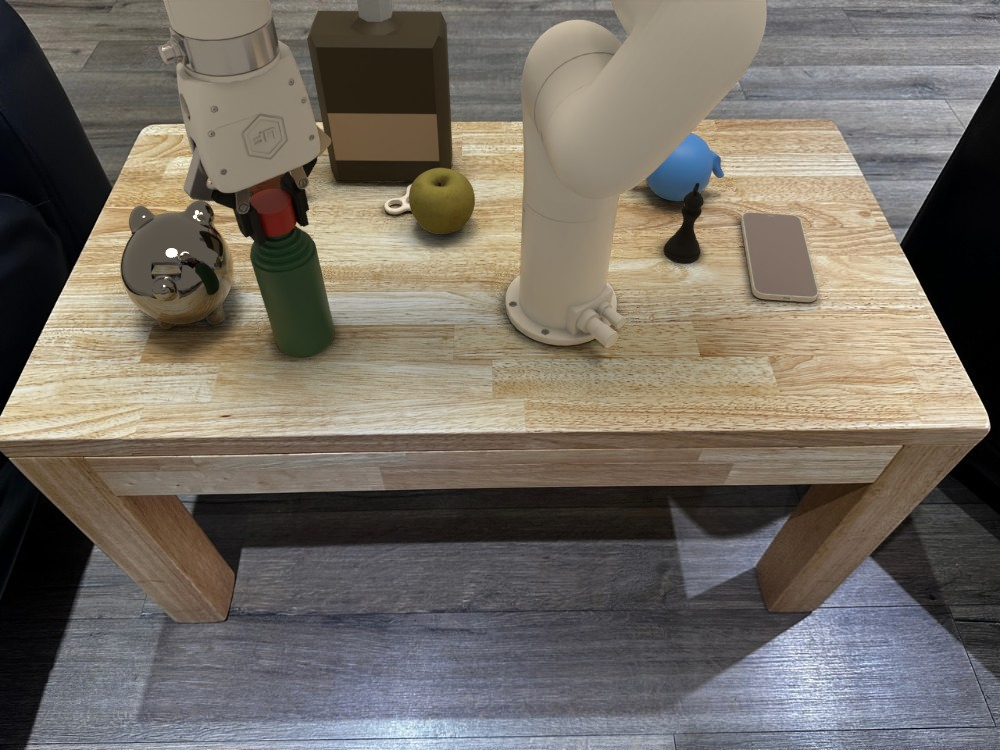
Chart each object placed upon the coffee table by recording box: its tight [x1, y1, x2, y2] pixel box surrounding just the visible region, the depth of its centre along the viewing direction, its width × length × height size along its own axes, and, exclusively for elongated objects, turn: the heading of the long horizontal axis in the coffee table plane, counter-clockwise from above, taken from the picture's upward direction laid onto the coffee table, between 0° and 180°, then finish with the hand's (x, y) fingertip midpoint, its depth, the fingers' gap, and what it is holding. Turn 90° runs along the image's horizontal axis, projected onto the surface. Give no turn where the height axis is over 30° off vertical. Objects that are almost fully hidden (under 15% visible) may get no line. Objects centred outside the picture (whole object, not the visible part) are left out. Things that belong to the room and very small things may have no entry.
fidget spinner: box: [383, 183, 412, 215], centre depth 101 cm, size 7×6×1 cm
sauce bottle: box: [249, 225, 336, 358], centre depth 79 cm, size 6×6×18 cm
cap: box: [249, 189, 297, 237], centre depth 73 cm, size 4×4×3 cm
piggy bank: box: [119, 200, 234, 330], centre depth 85 cm, size 11×15×12 cm
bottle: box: [306, 0, 454, 183], centre depth 97 cm, size 8×16×25 cm, turn 90°
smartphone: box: [740, 211, 819, 303], centre depth 95 cm, size 7×1×15 cm
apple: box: [408, 168, 476, 235], centre depth 96 cm, size 8×8×7 cm
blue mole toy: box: [644, 132, 725, 202], centre depth 101 cm, size 12×12×8 cm
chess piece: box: [663, 183, 705, 264], centre depth 92 cm, size 4×4×10 cm
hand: (276, 226), depth 75 cm, fingers closed on cap, 3 cm apart
